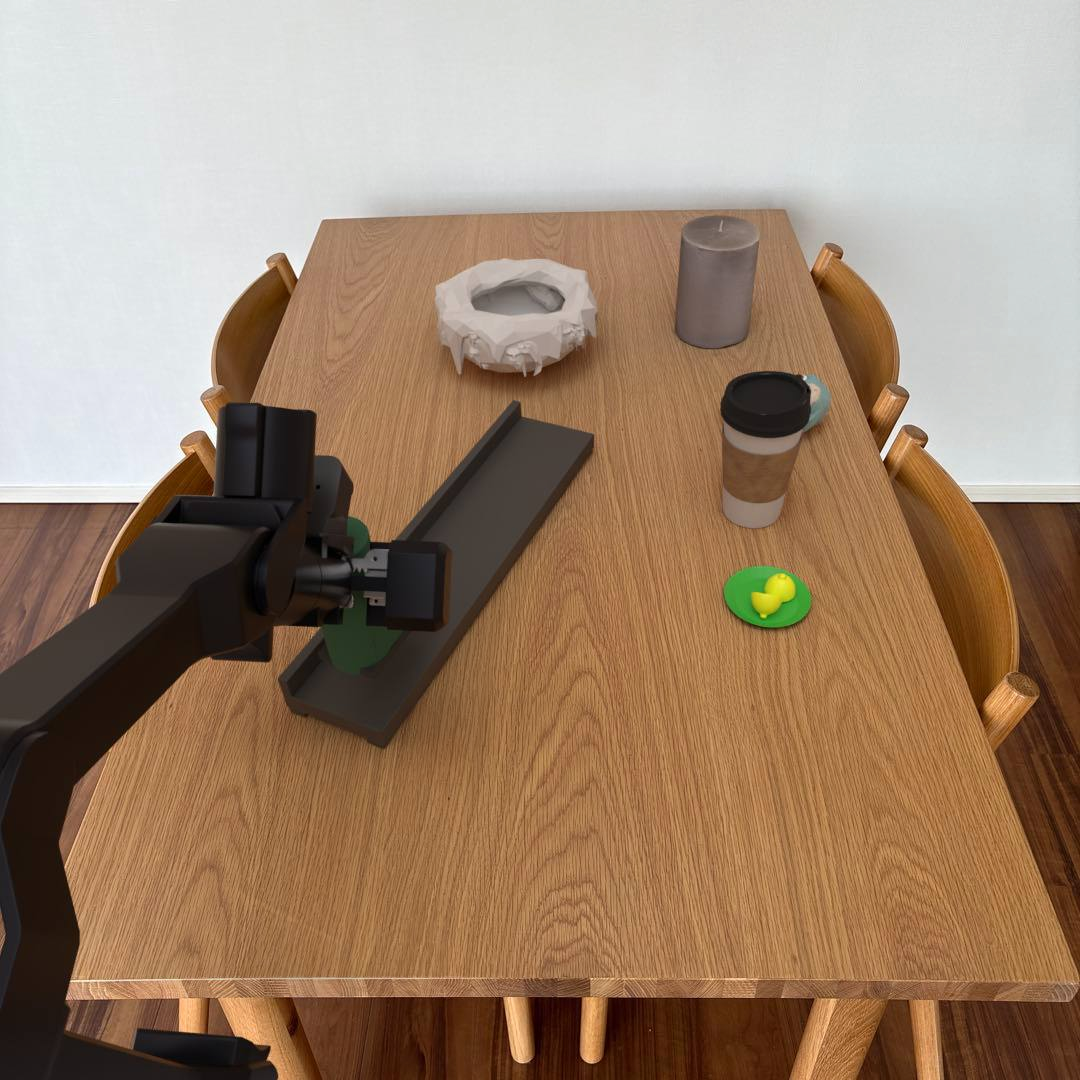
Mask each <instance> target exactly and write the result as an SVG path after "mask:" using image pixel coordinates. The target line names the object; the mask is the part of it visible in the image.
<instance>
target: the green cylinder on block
mask: <svg viewBox="0 0 1080 1080" xmlns="http://www.w3.org/2000/svg"><path fill="white" fill-rule="evenodd" d="M347 536H350V537H354V552H353V556H346V558H364V557H365V556H366V554H367V553H368V552H369V551H370V542H372V540H371V536H370V531H369V528H368V526H367V525H366V523H364V522H363V521H362V520H361V519H359V518H357V517H354V516H350V515H348V520H347ZM368 570H369V569H368ZM351 571H352V569H351ZM352 576H365V573H364V571H363V569H362V572H361V573H359V572H358V570H356V572H353V571H352ZM351 594H354V597H355V603H354V607H353V608H344V610H343V624H342V625H329V624H323V627H320V628H322V632H323V635H324V638H325V642H326V644H325V645H324V646H323V647H322V649H321V650H320V651H319V652H318V655H319V658H320V659H321V660H324V661H326V662H329V663H332V664H333V665H334V666H335V667H336V668H337V669H338V670H340V671H342V672H344V673H347V674H353V675H360V674H361V675H364V676H366V677H369V678H372V679H375V678H376V677H377V676H378V674H379V673H380V672H381V671H382V669H383V668H384V667H385V665H386V664H387V663H388V661H389V660H390V659H391V658H392V656H393V655H394V654H395V652H396V651H397V650H398V648H399V647H400V646H401V645H402V643H403V642H404V641H405V639H406V638H407V637H408V636H409V634H410V633H411V632H412V631H403V630H387V627H380V626H366V610H367V597H363V596H364V591H354V590H352V591H351Z"/></svg>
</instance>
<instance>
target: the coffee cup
mask: <svg viewBox="0 0 1080 1080" xmlns="http://www.w3.org/2000/svg"><path fill="white" fill-rule="evenodd" d="M786 372H787V371H780V370H779V371H778V370H777V371H776V370H761V371H760V370H759V371H751V372H747V373H743V374H741V375H738V376H736V377H734V378H732V379H731V380H730V381H729V382H728V383H727V385H726V386H725V390H724V393H723V396H722V397H721V399H720V408H719V411H720V416H721V418H722V420H723V423H722V426H721V464H722V465H721V470H722V471H721V473H722V474H721V475H722V476H721V477H722V479H721V480H722V481H721V482H722V511H723V514H724V516H725V517H726V519H728V520H729V521H730V522H731V523H733V524H734V525H736V526H739V527H742V528H745V529H762V528H766V527H770V526H771V525H773V524H774V523H776V522H777V520H778V519H779V518H780V515H781V512H782V508H783V505H784V502H785V498H786V494H787V490H788V488H789V484H790V481H791V478H792V474H793V472H794V467H795V465H796V461H797V458H798V454H799V450H800V448H801V444H802V441H803V437H804V433H803V432H802V429H803V428H804V427H805V426H806V425H807V424H808V421H809V419H810V414H811V405H810V399H811V389H810V387H809V386H808V384H807V383H806V382H805V381H804V380H803V379H802V378H800V377H798V376H797V375H795V373H791V372H789V373H786Z"/></svg>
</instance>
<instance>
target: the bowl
mask: <svg viewBox="0 0 1080 1080" xmlns="http://www.w3.org/2000/svg"><path fill="white" fill-rule="evenodd" d="M434 287H435V289H434V290H435V291H434V293H435V294H434V298H433V300H434V307H435V310H436V314H437V318H438V321H437V333H438V337H439V341H440V346H441V347H445V346H446V347H448V348H449V349H450V352H451V356H452V359H453V363H454V365H455V368H456V372H457V374H458V375H461V374H462V369H463V364H464V360H465V359H466V360H468V361H470V362H472V363H474V364H475V365H476V366H479V368H480V369H483V370H489V371H492V372H496V373H507V374H508V373H523V376H524V378H525V377H527V373H531V372H533V377H536V375H538V374H539V373H541V371H542V370H543V369H542V368H544V367H547V366H550V365H552V364H555V363H557V362H560V361H561V360H562V359H564V358H565V357H566V356H568V354H570V353H572V352H573V351H574V350H575V349H576V350H578V346H581V347H582V349H584V354H585V356H586V355H587V354H586V353H587V352H586V351H587V347H586V345H587V341H586V340H587V339H586V338H587V337H588V336H590V337H591V338H593V339H595V338H597V327H596V325H599V312H598V307H597V303H596V298H595V295H594V293H593V290H592V289H591V286H590V284H589V278H588V274H587V270H583V269H580V268H579V269H578V268H573V267H570V266H568V265H565V264H563V263H560V262H557V261H554V260H551V259H549V258H528V259H527V258H526V259H517V260H515V259H511V258H506V257H504V258H500V259H492V260H484V261H482V262H480V263H478V264H475V265H474V266H472V267H469V268H467V269H465V270H463V271H461V272H459V273H458V274H456V275H454V276H453V277H451V278H450V279H448V280H446V281H443V282H441V283H439V284H437V285H436V286H434Z"/></svg>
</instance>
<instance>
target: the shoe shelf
mask: <svg viewBox="0 0 1080 1080" xmlns="http://www.w3.org/2000/svg"><path fill="white" fill-rule="evenodd" d="M594 448H595V434H594V433H593V432H592V433H591V432H587V431H583V430H580V429H575V428H571V427H567V426H563V425H559V424H555V423H550V422H546V421H542V420H538V419H534V418H530V417H526V416H522V402H521V401H519V400H514V399H513V400H511V402H510V403H509V405H508V406H507V407H505V409H504V410H503V411H502V413H501V414H500V415H499V416H498V417H497V419H496V420H495V421H494V422H493V423H492V424H491V426H490V427H489V428H488V429H487V430H486V432H485V433H484V434H483V435H482V436H481V437H480V439H479V440H478V441H477V442H476V443H475V445H474V446H473V447H472V448H471V449H470V450H469V452H468V453H467V454H466V455H465V456H464V457H463V458H462V460H461V461H460V462H459V463H458V465H457V466H456V467H455V468H454V469H453V470H452V472H451V473H450V474H449V475H448V477H447V478H445V480H444V481H443V482H442V483H441V485H440V486H439V487H438V488H437V490H435V492H434V493H433V494H431V496H430V498H429V499H428V500H427V501H426V502H425V503H424V505H423V506H422V507H421V509H420V510H418V512H417V513H416V514H415V515H414V516H413V518H412V519H411V520H410V521H409V523H407V525H406V526H405V527H404V528H403V529H402V531H401V532H400V533H399V534H398V535H397V536H396V538H395V539H394V540H407V541H433V542H442V543H445V544H446V545H447V546H448V547H449V548H450V549H451V550H452V566H451V587H450V608H449V624H447V625H446V626H445V627H444V628H443V629H442V630H441V631H438V632H424V631H412V632H411V633H410V634H409V636H408V637H407V638H406V639H405V641H404V642H403V643H402V645H401V646H400V647H399V648H398V650H397V651H396V652H395V654H394V655H393V656H392V658H391V659H390V660H389V661H388V663H387V664H386V665H385V667H384V668H383V669H382V671H381V672H380V673H379V674H378V676H377V677H376V678H375V679H372V678H369V677H366V676H364V675H361V674H360V675H353V674H347V673H344V672H342V671H340V670H338V669H337V668H336V667H335V666H334V665H333V664H332V663H329V662H326V661H324V660H321V659H320V658H319V655H318V652H319V651H320V650H321V649H322V647H323V646H324V645H325V644H326V642H325V638H324V635H323V632H322V628H321V627H319V629H318V630H317V631H316V632H315V633H314V635H313V636H312V637H311V638H310V639H309V640H308V642H307V643H306V644H305V645H304V647H302V649H301V650H300V651H299V652H298V653H297V654H296V656H295V657H294V658H293V660H292V661H291V662H290V663H289V664H288V665H287V666H286V668H285V669H283V671H282V672H281V673H280V674H279V676H278V677H277V682H278V685H279V687H280V690H281V692H282V696H283V699H284V701H285V705H286V706H287V707H288V708H289V711H290V713H292V714H295V715H297V716H300V717H302V718H305V719H306V718H307V717H308V716H310V717H313V718H315V719H318V720H320V721H323V722H326V723H328V724H331V725H333V726H335V727H338V728H341V729H342V730H346V731H348V732H351V733H354V735H358V736H361V737H363V738H365V739H367V743H368V744H370V745H372V746H374V747H376V748H380V749H381V750H385V749H386V748H387V747H388V745H389V743H390V742H391V741H392V739H393V738H394V736H395V735H396V734H397V732H398V731H399V729H400V728H401V726H402V725H403V724H404V722H405V720H406V719H407V718H408V717H409V715H410V714H411V712H412V711H413V709H414V708H415V707H416V705H417V703H418V702H419V700H420V699H421V698H422V696H424V693H425V692H426V691H427V689H428V687H429V686H430V685H431V683H432V682H433V681H434V680H435V677H436V676H437V675H438V673H439V672H440V670H441V669H442V668H443V666H444V665H445V663H446V662H447V661H448V659H449V658H450V657H451V655H452V653H453V652H454V650H455V649H456V647H458V644H459V643H461V640H462V639H463V638H464V636H465V635H466V633H467V632H468V631H469V629H470V628H471V626H472V625H473V624H474V622H475V620H476V619H477V618H478V616H479V615H480V614H481V612H482V610H483V609H484V608H485V606H486V605H487V603H488V602H489V601H490V599H491V598H492V596H493V595H494V594H495V591H496V590H497V589H498V587H499V586H500V584H501V583H502V582H503V580H504V579H505V578H506V576H507V575H508V573H509V571H511V569H512V567H513V566H514V565H515V563H516V562H517V560H519V557H520V556H521V555H522V553H523V552H524V551H525V549H526V547H527V546H528V545H529V543H530V542H531V540H532V539H533V538H534V536H535V534H536V533H537V532H538V530H539V529H540V527H541V526H542V524H543V523H544V521H546V519H547V518H548V516H549V515H550V513H552V510H553V508H554V507H555V506H556V504H558V501H559V500H560V499H561V497H562V496H563V494H564V493H565V492H566V490H567V489H568V488H569V486H570V484H571V483H572V481H574V479H575V477H576V476H577V474H578V473H579V472H580V470H581V469H582V467H583V466H584V465H585V463H586V461H587V460H588V459H589V457H590V456H591V454H592V453H593V451H594V450H593V449H594Z"/></svg>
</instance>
